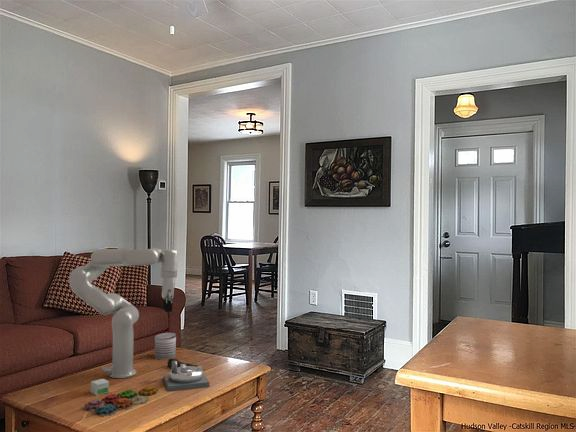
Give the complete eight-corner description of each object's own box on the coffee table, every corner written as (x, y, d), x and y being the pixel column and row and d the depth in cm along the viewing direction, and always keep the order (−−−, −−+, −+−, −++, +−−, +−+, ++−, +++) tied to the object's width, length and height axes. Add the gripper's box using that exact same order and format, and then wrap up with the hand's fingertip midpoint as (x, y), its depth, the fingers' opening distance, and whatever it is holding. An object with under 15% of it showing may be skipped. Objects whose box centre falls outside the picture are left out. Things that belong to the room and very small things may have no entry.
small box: (96, 396, 197) (96, 384, 197) (90, 392, 201) (90, 381, 201) (109, 392, 201) (109, 381, 202) (103, 389, 205) (103, 378, 205)
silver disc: (206, 380, 212) (206, 362, 212) (172, 384, 206) (173, 366, 206) (197, 370, 226) (198, 354, 226) (166, 374, 219) (166, 357, 220)
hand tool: (198, 372, 232) (198, 362, 232) (192, 374, 229) (192, 364, 229) (171, 365, 242) (171, 356, 242) (165, 367, 239) (166, 358, 239)
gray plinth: (168, 391, 204) (168, 379, 204) (163, 378, 221) (163, 367, 221) (209, 386, 211) (209, 375, 211) (201, 374, 227) (201, 364, 228)
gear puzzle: (146, 387, 209) (146, 378, 209) (169, 396, 200) (169, 386, 200) (80, 409, 184) (80, 398, 184) (103, 419, 175) (104, 408, 175)
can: (175, 359, 253) (175, 336, 253) (153, 360, 250) (154, 337, 251) (175, 353, 264) (176, 332, 264) (155, 354, 261) (155, 332, 262)
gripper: (159, 272, 234) (158, 306, 234) (162, 276, 218) (161, 313, 217) (174, 272, 237) (173, 306, 236) (178, 276, 220) (177, 312, 220)
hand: (167, 309), depth 227 cm, fingers open, 9 cm apart
